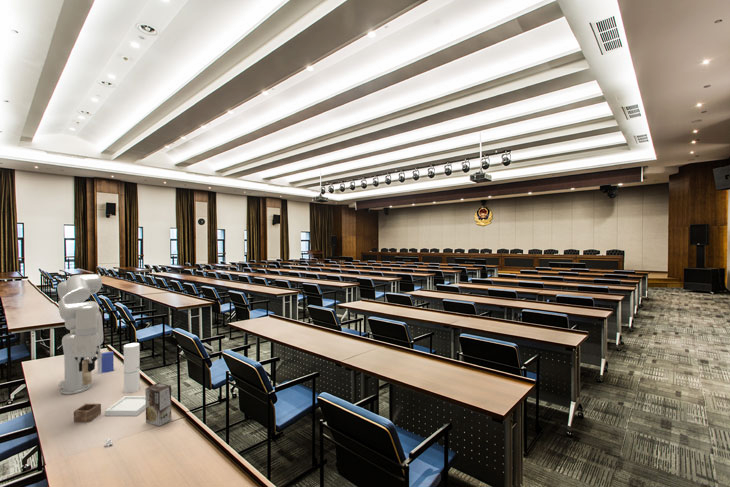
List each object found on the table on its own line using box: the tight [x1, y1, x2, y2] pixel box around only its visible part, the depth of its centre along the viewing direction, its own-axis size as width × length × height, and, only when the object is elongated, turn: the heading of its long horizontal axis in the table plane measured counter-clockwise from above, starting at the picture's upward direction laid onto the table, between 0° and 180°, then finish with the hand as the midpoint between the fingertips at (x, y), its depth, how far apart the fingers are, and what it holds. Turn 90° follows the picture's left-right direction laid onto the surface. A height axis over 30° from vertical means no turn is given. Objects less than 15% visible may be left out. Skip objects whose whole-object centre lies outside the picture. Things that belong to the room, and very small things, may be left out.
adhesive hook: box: [104, 437, 114, 448], centre depth 138 cm, size 3×3×3 cm
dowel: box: [82, 358, 93, 385], centre depth 157 cm, size 3×3×11 cm
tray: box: [104, 395, 146, 417], centre depth 167 cm, size 15×14×2 cm
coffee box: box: [144, 382, 172, 427], centre depth 156 cm, size 9×6×16 cm
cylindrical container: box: [123, 342, 141, 394], centre depth 185 cm, size 7×7×25 cm
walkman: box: [96, 350, 115, 375], centre depth 207 cm, size 8×3×12 cm, turn 127°
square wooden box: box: [73, 403, 102, 423], centre depth 157 cm, size 7×7×5 cm
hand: (87, 370), depth 156 cm, fingers closed on dowel, 3 cm apart
